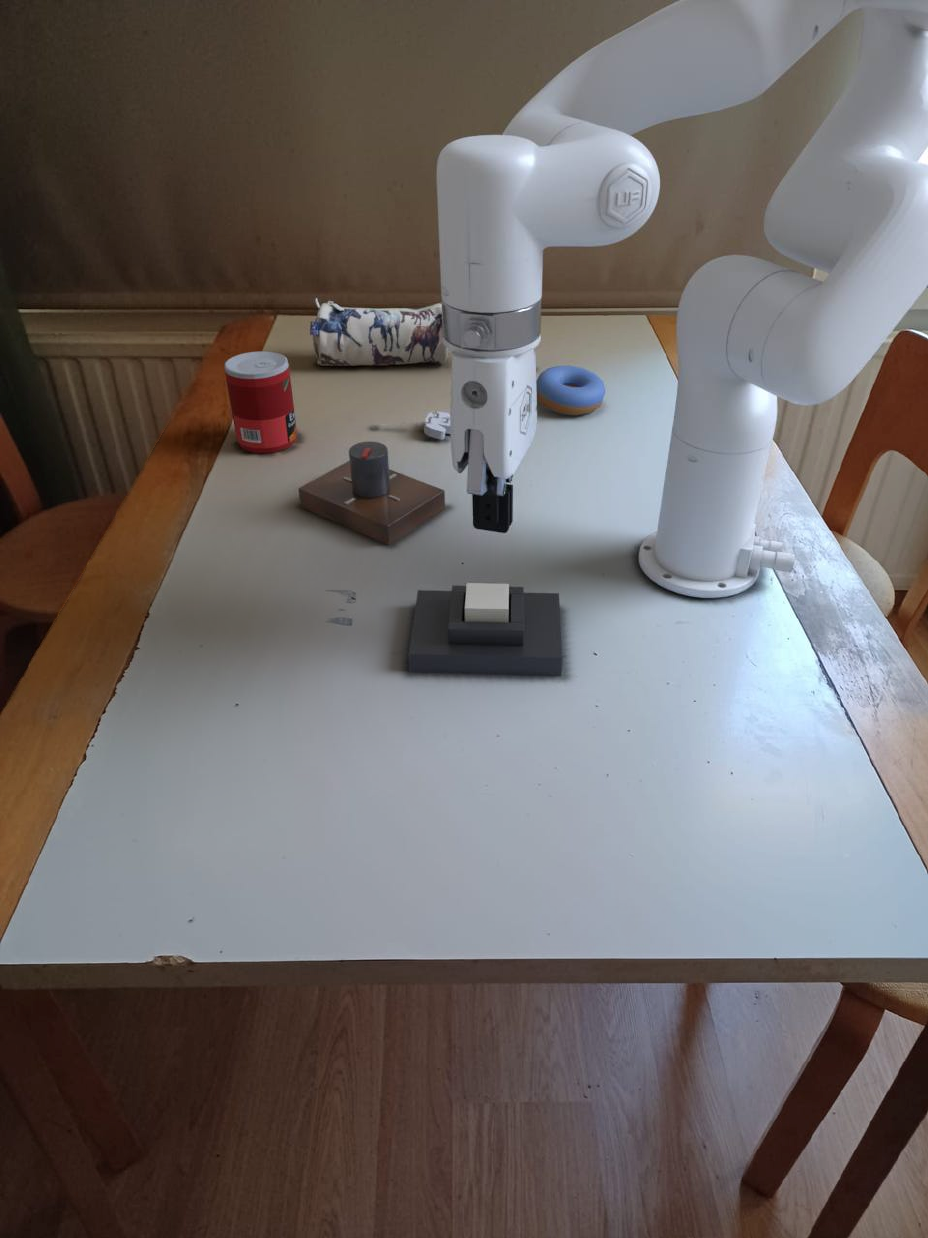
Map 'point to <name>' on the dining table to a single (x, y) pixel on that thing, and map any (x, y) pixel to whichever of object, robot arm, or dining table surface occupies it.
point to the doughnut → (570, 390)
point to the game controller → (436, 424)
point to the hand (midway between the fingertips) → (492, 525)
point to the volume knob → (369, 469)
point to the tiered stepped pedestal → (486, 636)
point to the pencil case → (378, 335)
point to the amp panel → (373, 504)
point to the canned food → (261, 401)
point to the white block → (486, 602)
